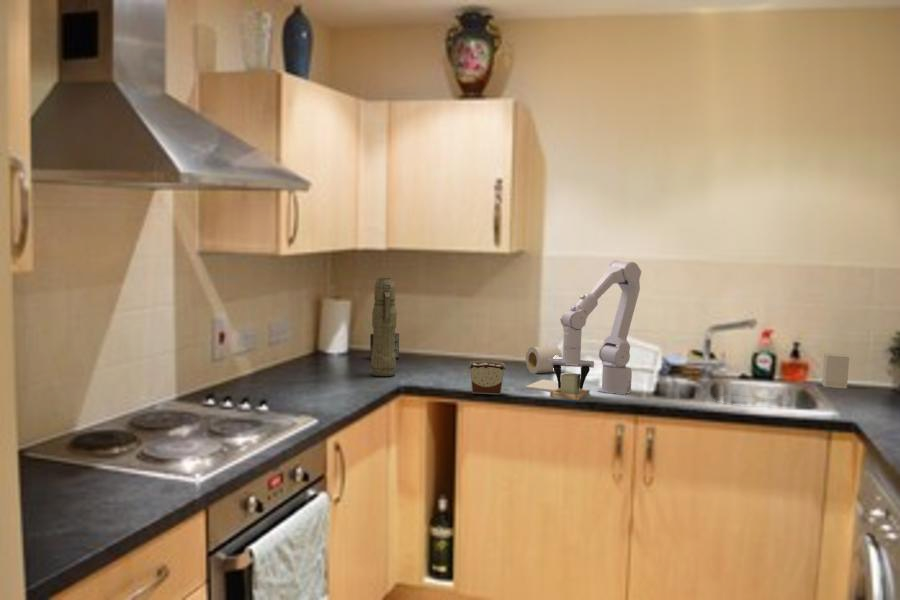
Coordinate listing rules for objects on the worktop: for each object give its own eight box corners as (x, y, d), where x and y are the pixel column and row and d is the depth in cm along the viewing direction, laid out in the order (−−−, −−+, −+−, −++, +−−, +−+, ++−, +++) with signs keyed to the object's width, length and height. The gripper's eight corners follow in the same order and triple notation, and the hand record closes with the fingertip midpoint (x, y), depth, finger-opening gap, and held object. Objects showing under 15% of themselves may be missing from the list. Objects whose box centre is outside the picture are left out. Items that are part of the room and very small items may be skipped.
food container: (505, 390, 262) (506, 361, 261) (505, 394, 256) (506, 364, 255) (468, 389, 263) (469, 359, 262) (467, 392, 257) (468, 362, 256)
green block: (579, 394, 259) (580, 374, 258) (573, 398, 254) (574, 376, 253) (566, 393, 261) (567, 372, 260) (560, 396, 256) (561, 375, 255)
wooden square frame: (589, 394, 260) (589, 390, 260) (578, 400, 250) (578, 395, 250) (562, 390, 264) (562, 386, 264) (550, 396, 255) (550, 392, 255)
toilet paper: (547, 369, 305) (548, 344, 304) (561, 374, 296) (562, 348, 295) (525, 371, 300) (526, 345, 300) (538, 375, 291) (539, 349, 291)
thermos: (376, 377, 279) (378, 279, 276) (367, 371, 290) (368, 277, 287) (400, 376, 282) (402, 279, 279) (389, 370, 293) (391, 277, 290)
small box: (390, 356, 325) (390, 331, 324) (399, 358, 320) (400, 333, 319) (369, 358, 318) (369, 333, 318) (378, 361, 314) (378, 335, 313)
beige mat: (571, 385, 274) (571, 383, 274) (555, 392, 261) (555, 390, 261) (542, 381, 280) (542, 379, 280) (525, 388, 267) (525, 386, 266)
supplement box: (847, 392, 276) (849, 357, 274) (823, 390, 278) (826, 355, 277) (843, 388, 282) (846, 354, 281) (821, 386, 285) (823, 352, 284)
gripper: (593, 346, 259) (591, 386, 261) (549, 344, 260) (547, 384, 262) (595, 349, 252) (593, 391, 254) (550, 347, 253) (548, 389, 255)
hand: (570, 388), depth 257 cm, fingers closed on green block, 6 cm apart
